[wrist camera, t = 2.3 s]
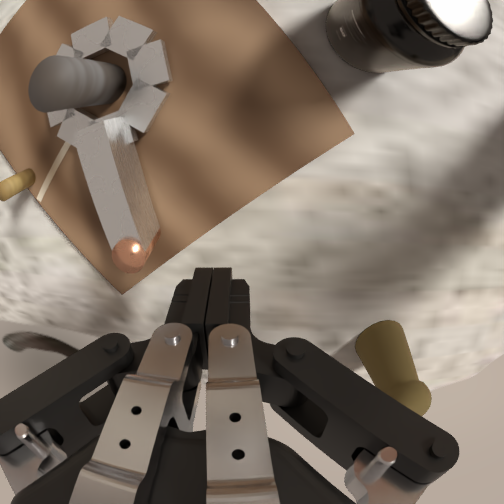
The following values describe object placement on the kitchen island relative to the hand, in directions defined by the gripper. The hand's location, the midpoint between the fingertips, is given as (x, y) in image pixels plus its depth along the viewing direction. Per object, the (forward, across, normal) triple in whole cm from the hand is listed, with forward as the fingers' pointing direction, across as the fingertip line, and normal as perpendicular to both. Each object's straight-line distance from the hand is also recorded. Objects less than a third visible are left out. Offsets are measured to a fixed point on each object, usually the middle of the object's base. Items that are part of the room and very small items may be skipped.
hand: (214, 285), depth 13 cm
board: (+12, +9, -10) cm, 18 cm away
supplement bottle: (+12, -10, -14) cm, 21 cm away
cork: (+12, -16, +16) cm, 26 cm away
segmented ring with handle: (+11, +8, -6) cm, 14 cm away
